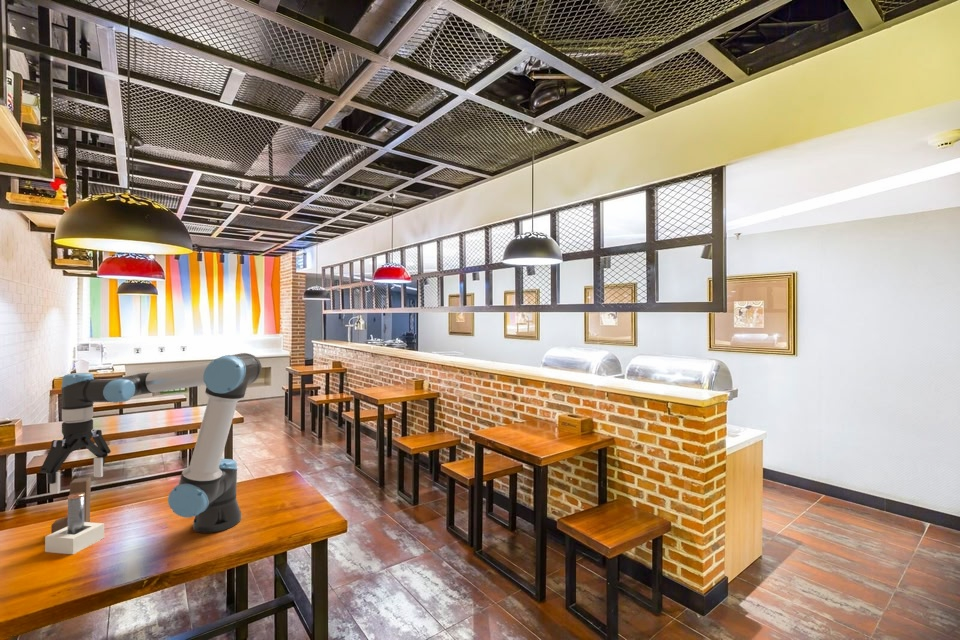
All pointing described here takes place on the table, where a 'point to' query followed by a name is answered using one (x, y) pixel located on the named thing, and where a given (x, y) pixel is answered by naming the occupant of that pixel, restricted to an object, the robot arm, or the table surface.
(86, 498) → the wooden block
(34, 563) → the table surface
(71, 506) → the peg
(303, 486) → the table surface
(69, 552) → the socket
